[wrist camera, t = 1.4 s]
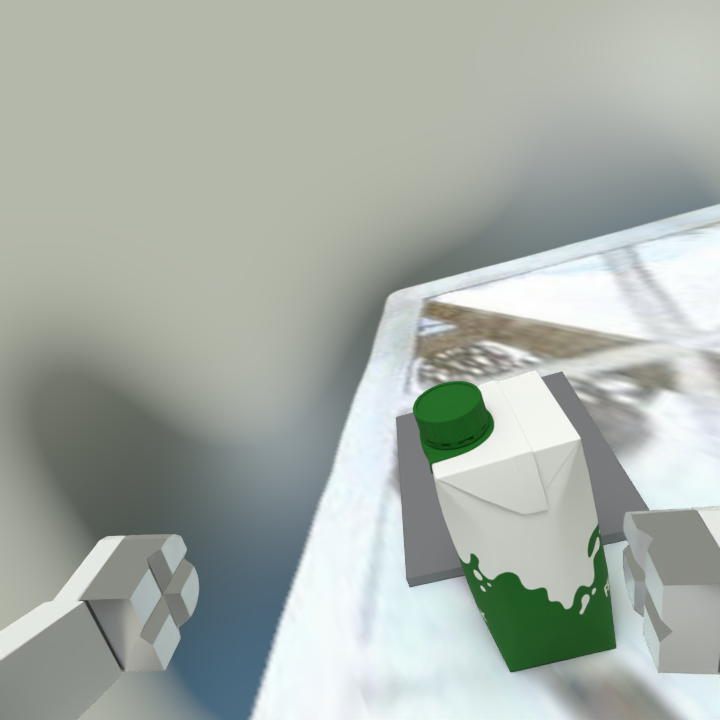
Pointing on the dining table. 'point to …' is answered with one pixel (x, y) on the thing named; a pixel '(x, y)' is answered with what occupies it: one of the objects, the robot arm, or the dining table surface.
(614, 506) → the mat
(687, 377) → the dining table surface
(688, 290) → the dining table surface
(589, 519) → the soya milk
